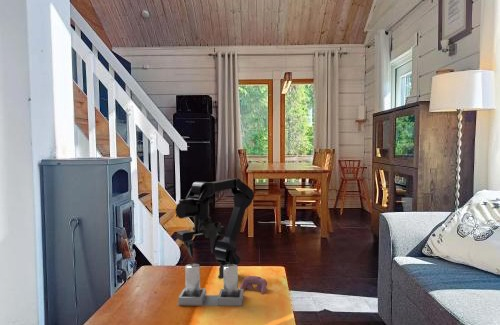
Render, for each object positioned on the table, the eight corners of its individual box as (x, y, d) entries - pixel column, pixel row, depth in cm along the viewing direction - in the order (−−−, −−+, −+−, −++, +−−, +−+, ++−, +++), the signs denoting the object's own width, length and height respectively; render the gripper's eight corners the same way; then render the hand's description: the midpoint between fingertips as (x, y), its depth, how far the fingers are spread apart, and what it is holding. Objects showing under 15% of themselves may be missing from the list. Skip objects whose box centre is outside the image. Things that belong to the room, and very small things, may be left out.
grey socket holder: (244, 298, 128) (244, 288, 128) (242, 309, 120) (242, 298, 120) (183, 297, 130) (183, 288, 130) (177, 308, 121) (177, 297, 121)
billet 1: (192, 295, 129) (192, 262, 128) (203, 298, 126) (202, 265, 126) (182, 300, 125) (182, 266, 124) (193, 304, 122) (192, 269, 122)
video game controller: (267, 297, 133) (269, 278, 136) (263, 296, 129) (266, 276, 132) (242, 294, 136) (244, 275, 139) (238, 293, 132) (240, 273, 135)
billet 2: (232, 296, 128) (232, 263, 127) (240, 301, 124) (240, 266, 124) (220, 300, 125) (220, 266, 124) (228, 304, 121) (228, 269, 120)
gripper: (189, 220, 125) (190, 265, 126) (233, 214, 137) (234, 255, 137) (175, 216, 134) (176, 257, 135) (217, 210, 145) (218, 248, 146)
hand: (202, 254), depth 138 cm, fingers open, 9 cm apart
